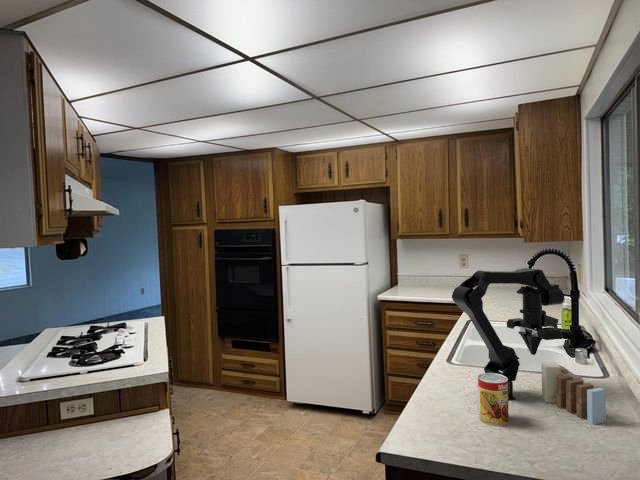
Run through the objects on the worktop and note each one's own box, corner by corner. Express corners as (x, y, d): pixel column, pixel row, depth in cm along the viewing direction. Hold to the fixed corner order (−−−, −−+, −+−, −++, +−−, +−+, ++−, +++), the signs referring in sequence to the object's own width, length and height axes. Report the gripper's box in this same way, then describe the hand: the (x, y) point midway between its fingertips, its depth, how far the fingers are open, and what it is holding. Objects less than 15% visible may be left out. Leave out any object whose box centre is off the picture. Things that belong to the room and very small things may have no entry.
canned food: (509, 427, 118) (508, 383, 117) (478, 423, 120) (477, 381, 120) (507, 415, 125) (506, 374, 124) (478, 412, 128) (477, 371, 127)
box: (561, 403, 131) (561, 367, 131) (546, 402, 132) (545, 366, 132) (556, 396, 137) (555, 361, 136) (541, 396, 137) (540, 361, 137)
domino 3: (594, 416, 122) (593, 385, 122) (581, 419, 121) (580, 387, 121) (589, 414, 124) (588, 383, 123) (576, 416, 122) (576, 385, 122)
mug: (589, 393, 139) (572, 367, 139) (558, 401, 144) (542, 376, 144) (587, 380, 145) (571, 355, 145) (557, 388, 150) (542, 363, 150)
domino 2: (583, 411, 125) (583, 380, 125) (571, 413, 124) (570, 382, 124) (579, 409, 127) (578, 379, 127) (566, 411, 126) (566, 380, 126)
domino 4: (605, 422, 119) (605, 389, 118) (592, 424, 117) (591, 391, 117) (600, 419, 120) (600, 387, 120) (587, 422, 119) (586, 389, 119)
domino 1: (573, 406, 129) (573, 376, 129) (561, 408, 128) (560, 378, 128) (569, 404, 131) (568, 375, 130) (556, 406, 129) (556, 376, 129)
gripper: (576, 310, 134) (577, 360, 134) (532, 300, 152) (533, 344, 152) (545, 313, 131) (546, 364, 132) (505, 303, 149) (506, 348, 150)
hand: (533, 354), depth 141 cm, fingers closed
